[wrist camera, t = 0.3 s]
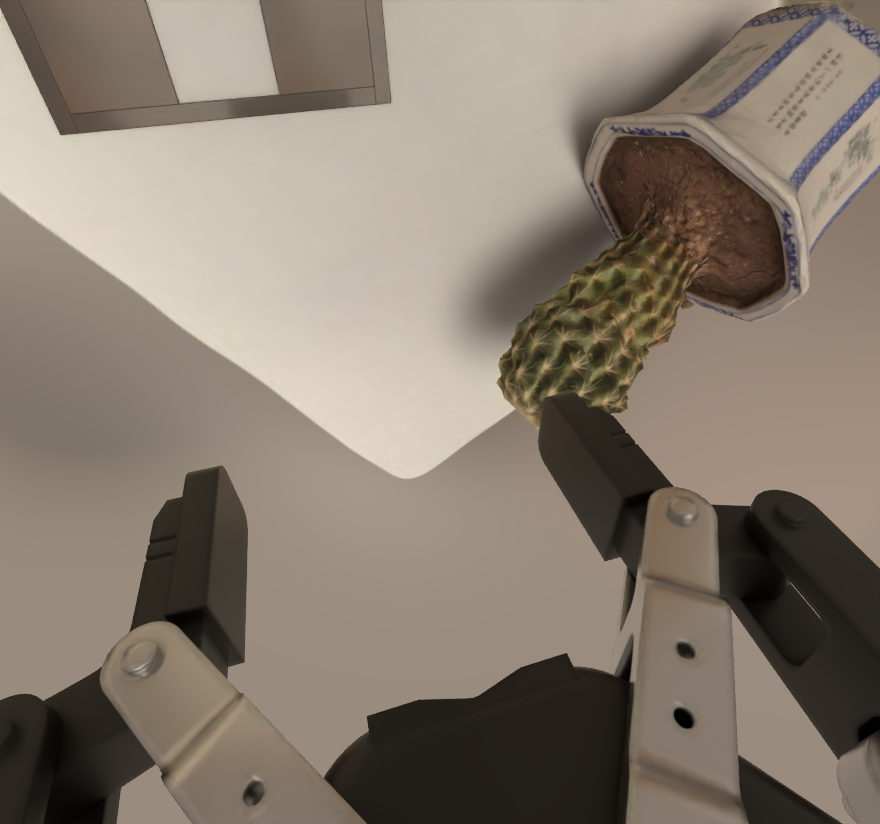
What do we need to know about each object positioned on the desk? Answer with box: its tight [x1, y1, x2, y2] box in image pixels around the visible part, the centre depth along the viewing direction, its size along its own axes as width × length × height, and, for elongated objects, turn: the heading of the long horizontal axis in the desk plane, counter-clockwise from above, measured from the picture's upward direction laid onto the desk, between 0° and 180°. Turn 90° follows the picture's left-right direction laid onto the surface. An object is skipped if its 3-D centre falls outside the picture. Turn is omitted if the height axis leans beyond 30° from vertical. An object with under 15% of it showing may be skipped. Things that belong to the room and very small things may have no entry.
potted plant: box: [497, 1, 880, 430], centre depth 35 cm, size 18×18×30 cm
